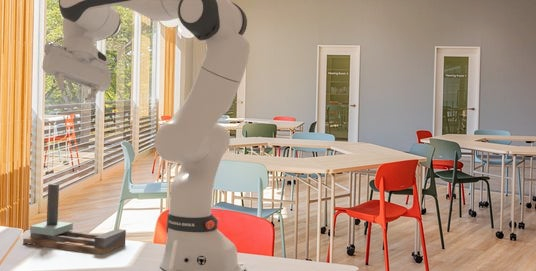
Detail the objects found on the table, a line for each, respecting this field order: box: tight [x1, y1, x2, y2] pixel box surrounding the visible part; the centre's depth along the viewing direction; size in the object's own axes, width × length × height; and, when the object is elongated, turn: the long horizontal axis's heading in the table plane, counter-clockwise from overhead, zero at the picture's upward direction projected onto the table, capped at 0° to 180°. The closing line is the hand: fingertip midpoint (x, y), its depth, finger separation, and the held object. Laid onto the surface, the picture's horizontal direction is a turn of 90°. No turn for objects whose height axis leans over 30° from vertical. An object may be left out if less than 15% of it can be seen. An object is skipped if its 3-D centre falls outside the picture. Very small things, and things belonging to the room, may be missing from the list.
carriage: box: [29, 183, 74, 236], centre depth 161 cm, size 8×9×14 cm
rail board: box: [22, 228, 127, 255], centre depth 159 cm, size 26×12×4 cm, turn 76°
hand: (77, 95), depth 153 cm, fingers open, 8 cm apart
